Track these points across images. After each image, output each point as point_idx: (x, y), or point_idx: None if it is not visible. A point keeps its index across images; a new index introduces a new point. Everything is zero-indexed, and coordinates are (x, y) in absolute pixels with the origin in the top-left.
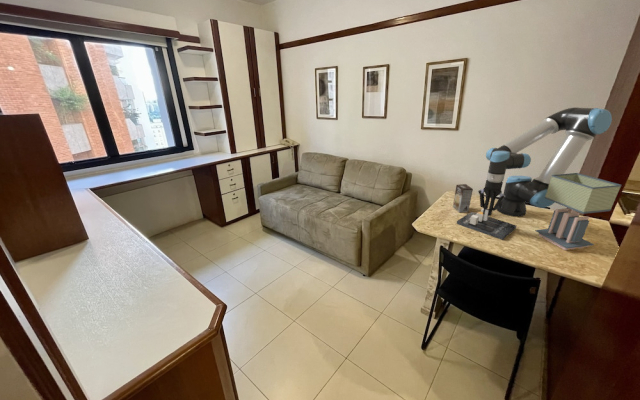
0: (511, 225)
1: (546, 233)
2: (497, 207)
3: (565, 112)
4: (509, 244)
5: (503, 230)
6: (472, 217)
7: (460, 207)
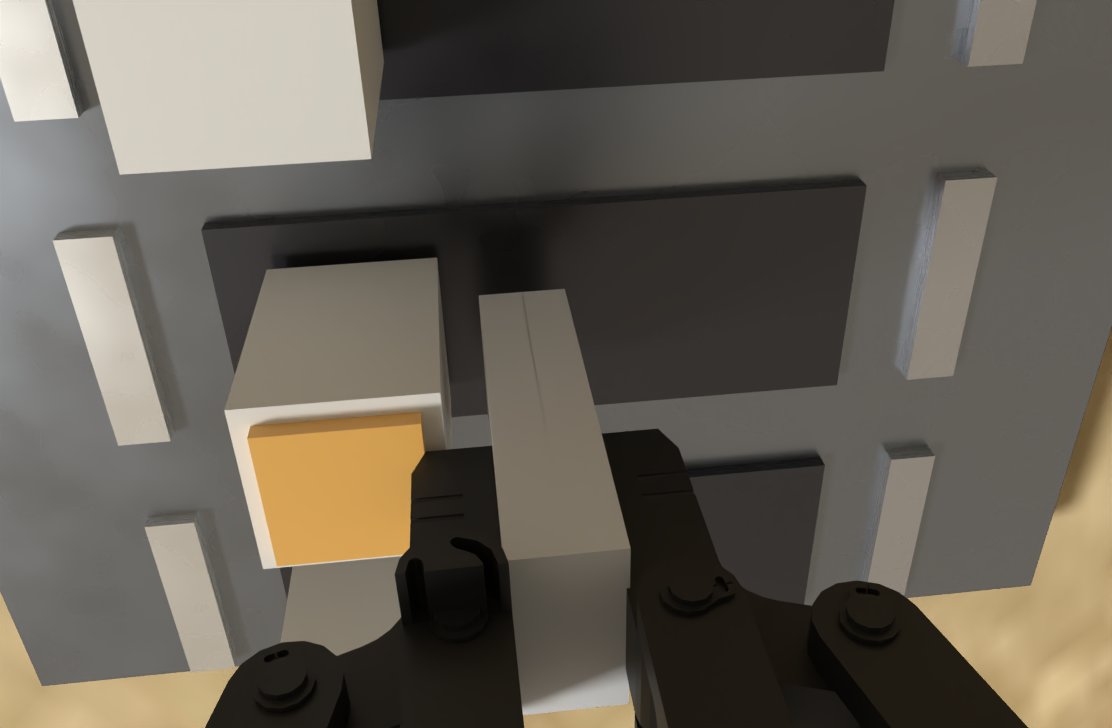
0: None
1: None
2: (979, 704)
3: None
4: (1102, 572)
5: (991, 361)
6: None
7: None
